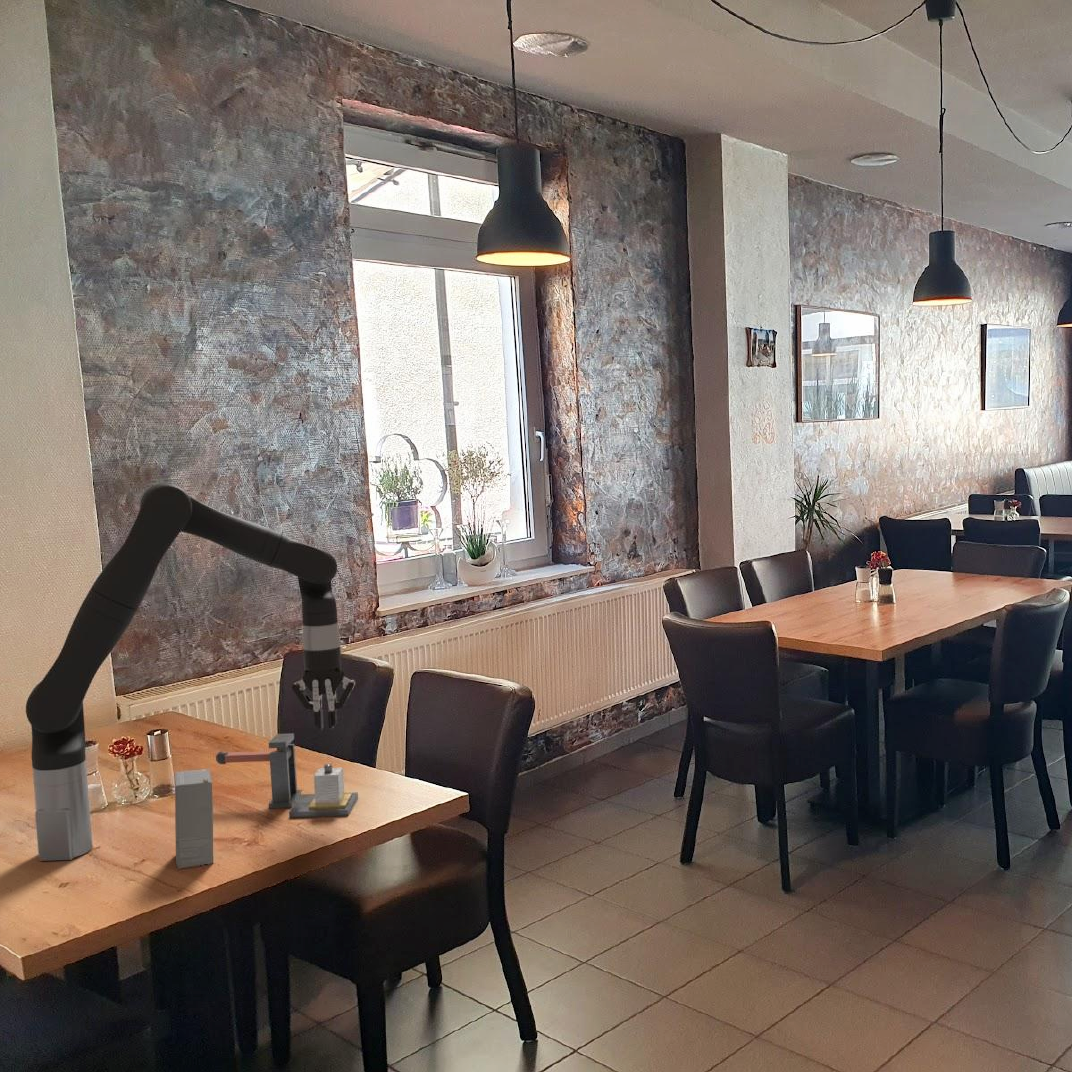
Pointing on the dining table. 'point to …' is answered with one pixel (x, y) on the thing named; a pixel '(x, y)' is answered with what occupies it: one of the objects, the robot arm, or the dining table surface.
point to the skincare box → (193, 818)
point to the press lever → (247, 756)
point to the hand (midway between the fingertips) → (326, 727)
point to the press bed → (287, 786)
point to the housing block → (329, 785)
